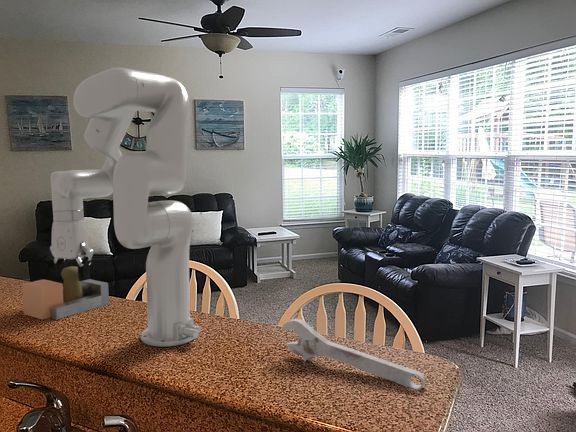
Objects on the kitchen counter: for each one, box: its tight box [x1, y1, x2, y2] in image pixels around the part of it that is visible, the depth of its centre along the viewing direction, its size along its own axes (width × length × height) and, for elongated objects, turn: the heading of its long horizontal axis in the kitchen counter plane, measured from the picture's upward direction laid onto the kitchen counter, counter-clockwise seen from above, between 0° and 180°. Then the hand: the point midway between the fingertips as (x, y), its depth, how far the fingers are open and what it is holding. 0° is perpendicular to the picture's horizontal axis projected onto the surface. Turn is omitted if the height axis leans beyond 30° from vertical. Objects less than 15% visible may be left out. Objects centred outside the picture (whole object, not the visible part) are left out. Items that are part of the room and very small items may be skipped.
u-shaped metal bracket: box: [50, 278, 110, 321], centre depth 131 cm, size 14×16×6 cm
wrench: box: [281, 318, 426, 391], centre depth 93 cm, size 8×2×30 cm
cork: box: [61, 265, 84, 303], centre depth 132 cm, size 6×6×11 cm
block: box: [21, 279, 63, 320], centre depth 125 cm, size 8×6×8 cm
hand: (73, 278), depth 131 cm, fingers open, 9 cm apart
